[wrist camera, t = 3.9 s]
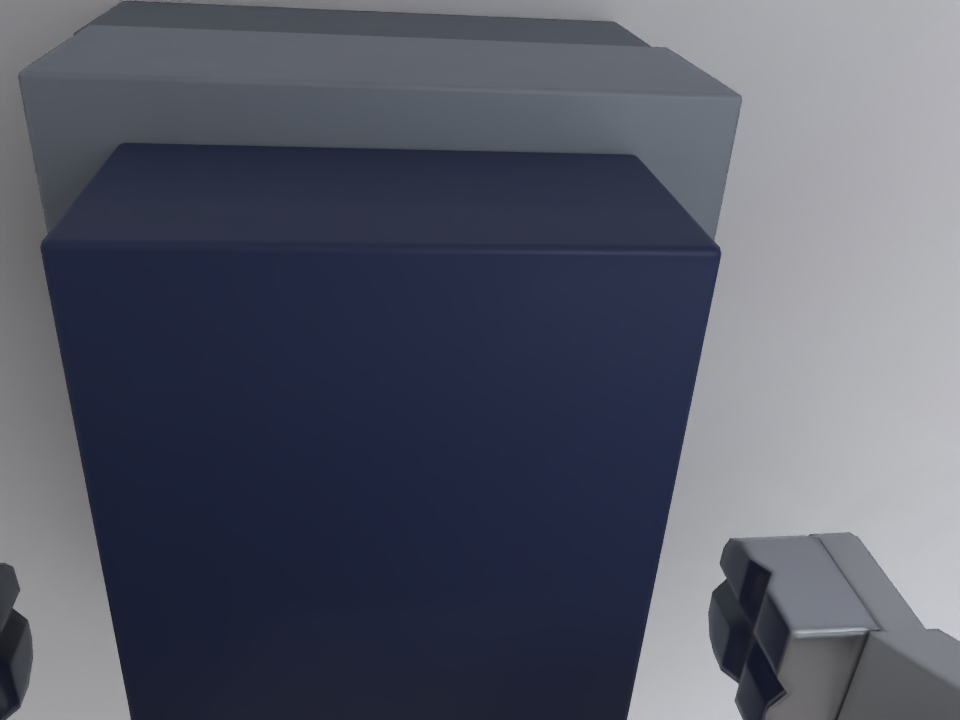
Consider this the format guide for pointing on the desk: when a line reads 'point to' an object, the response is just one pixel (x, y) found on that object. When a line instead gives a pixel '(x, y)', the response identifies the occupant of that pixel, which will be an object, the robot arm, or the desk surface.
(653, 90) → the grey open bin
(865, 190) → the desk surface
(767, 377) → the desk surface
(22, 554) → the desk surface
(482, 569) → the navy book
